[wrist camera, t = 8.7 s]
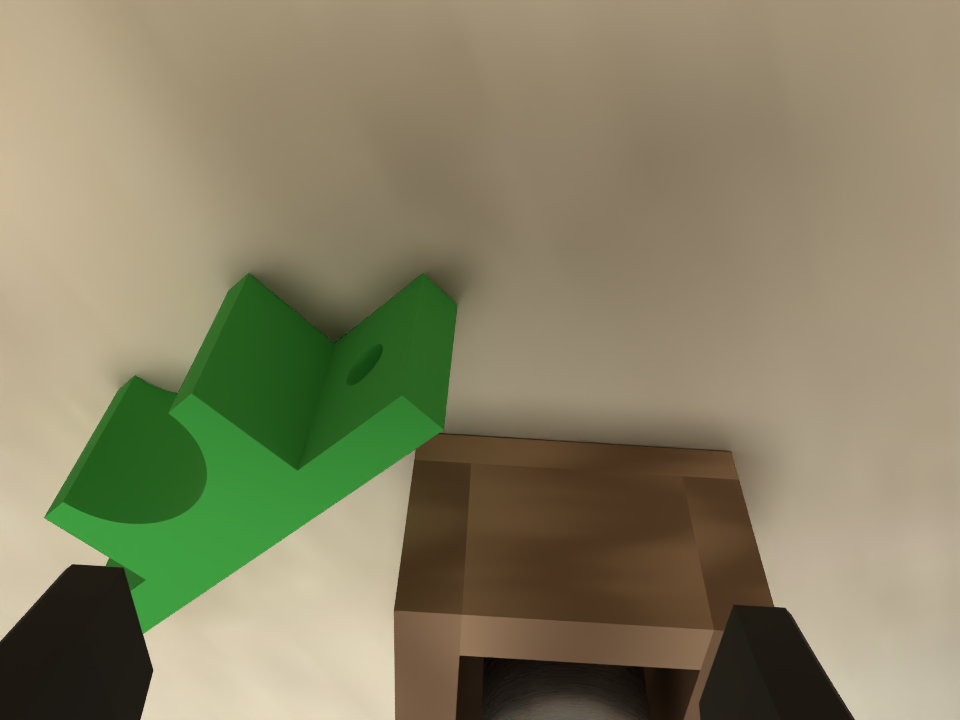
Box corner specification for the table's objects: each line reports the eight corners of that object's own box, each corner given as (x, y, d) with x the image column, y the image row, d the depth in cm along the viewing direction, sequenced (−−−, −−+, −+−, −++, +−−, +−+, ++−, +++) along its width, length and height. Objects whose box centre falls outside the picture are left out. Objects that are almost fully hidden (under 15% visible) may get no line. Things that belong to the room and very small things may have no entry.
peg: (636, 534, 23) (680, 856, 17) (628, 628, 26) (664, 941, 19) (483, 535, 23) (470, 853, 17) (488, 628, 26) (479, 937, 20)
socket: (730, 451, 23) (781, 634, 18) (674, 642, 28) (703, 822, 23) (418, 432, 23) (393, 610, 18) (415, 626, 28) (396, 804, 23)
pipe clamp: (338, 187, 19) (296, 304, 15) (458, 298, 21) (446, 429, 17) (55, 444, 24) (-30, 581, 20) (170, 519, 25) (112, 659, 22)
